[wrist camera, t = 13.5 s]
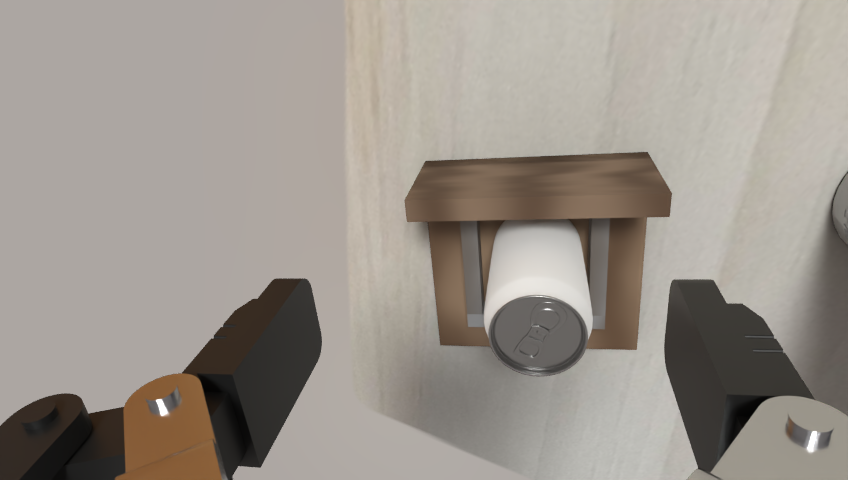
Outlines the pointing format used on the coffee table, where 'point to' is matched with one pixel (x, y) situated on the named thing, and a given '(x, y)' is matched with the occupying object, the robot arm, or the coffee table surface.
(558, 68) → the coffee table surface
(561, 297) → the can
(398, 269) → the coffee table surface
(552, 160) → the wall board
